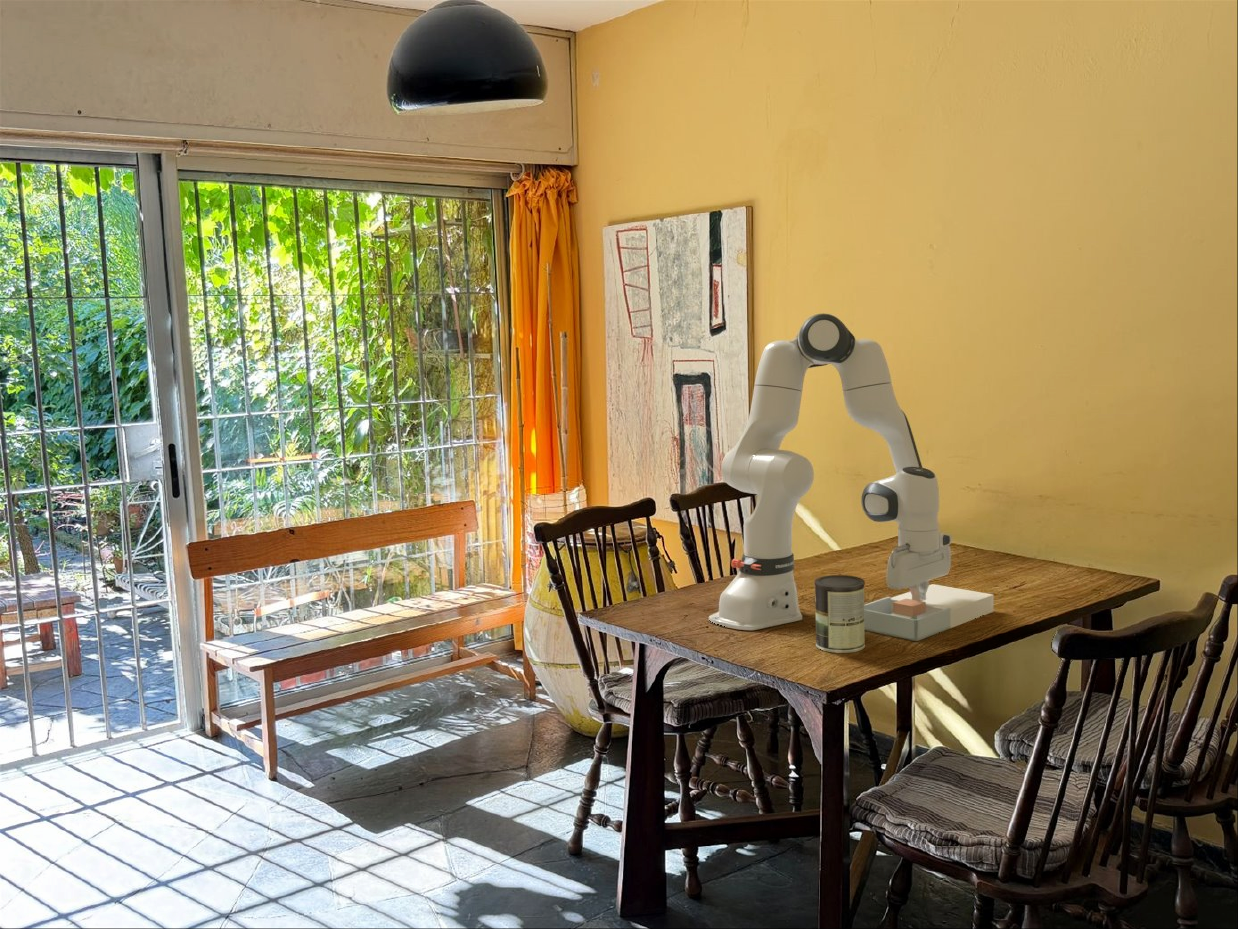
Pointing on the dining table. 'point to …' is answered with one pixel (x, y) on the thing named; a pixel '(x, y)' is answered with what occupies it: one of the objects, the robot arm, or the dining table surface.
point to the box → (903, 622)
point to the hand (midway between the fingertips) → (918, 601)
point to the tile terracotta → (909, 607)
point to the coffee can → (839, 613)
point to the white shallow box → (953, 603)
